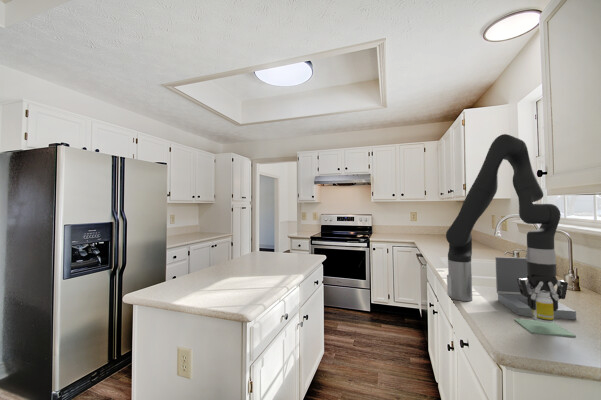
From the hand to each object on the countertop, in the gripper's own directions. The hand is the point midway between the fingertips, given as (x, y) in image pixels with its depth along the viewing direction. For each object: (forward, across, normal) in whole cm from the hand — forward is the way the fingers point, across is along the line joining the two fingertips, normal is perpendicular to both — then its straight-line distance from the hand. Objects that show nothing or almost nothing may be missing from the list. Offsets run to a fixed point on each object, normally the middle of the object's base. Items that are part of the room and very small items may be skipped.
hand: (542, 309), depth 89 cm
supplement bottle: (+4, 0, 0) cm, 4 cm away
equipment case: (+6, +7, +18) cm, 20 cm away
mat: (+6, 0, 0) cm, 6 cm away
